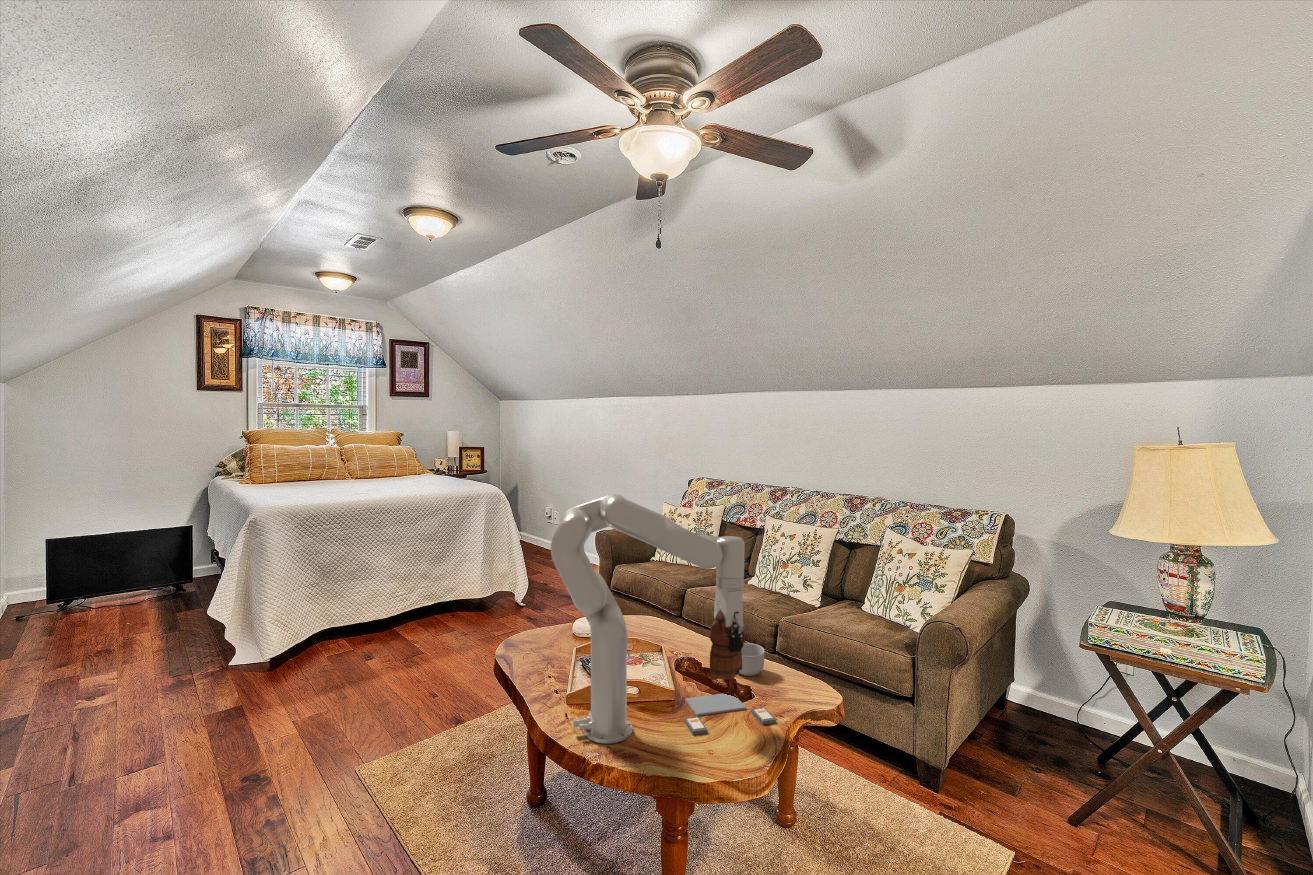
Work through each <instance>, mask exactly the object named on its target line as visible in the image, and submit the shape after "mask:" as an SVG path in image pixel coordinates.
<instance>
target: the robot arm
mask: <svg viewBox="0 0 1313 875" xmlns="http://www.w3.org/2000/svg"><path fill="white" fill-rule="evenodd" d="M606 528H611V529H613V530H616V531H618V532H620V533H622V534H625V535H628V536H629V537H632V538H635V539H637V540H639V541H641V542H644V543H646V544H648V545H651V546H653V547H654V548H656V549H659V550H661V551H664V552H666V553H668V554H670V555H673V556H674V557H677V558H678V559H680V560H682V561H684V562H688V563H690V564H692V565H694V566H696V567H699V568H702V569H705V570H710V569H715V568H716V569H715V570H716V574H715V593H714V602H713V603H714V605H713V618H714V619H715V617H716V614H717V613H718V611H719V610H721V611H722V612H723V614H724V617H725V621H724V623H723V626H724V627H725V628H728V627H730V634H731V636H730V638H729V651H730V652H740V651H741V637H742V633H744V629H745V628H744V627H745V625H744V607H743V606H744V602H743V600H744V598H743V589H745V588H744V586H745V585H744V584H745V581H744V579H745V551H746V550H745V547H746V546H745V541H744V539H743V538H742V537H739V536H734V535H724V536H715V535H707V534H698V533H695V532H693V531H691V530H689V529H686V528H685V527H683V526H680V524H677V523H676V522H675V521H673V520H671V519H670V518H668V516H665V515H663V514H661V513H659V512H656V511H653V510H651V509H649V508H647V507H644V506H643V505H640V504H637V503H635V502H634V501H631V500H628V499H627V498H626V497H624V496H623V495H621V494H617V493H615V494H614V493H613V494H608V495H604V496H603V497H600V498H597V499H594V500H591V501H588V502H585V503H583V504H582V503H581V504H578V505H576V506H573V507H570V508H569V509H567V510H566V511H565V512H564V513H563V514H562V515H561V517H560V520H559V524H558V525H557V527H556V529H555V530H554V533H553V536H552V539H551V543H550V555H551V560H552V562H553V564H554V566H555V568H556V570H557V572H558V575H559V576H560V578H561V580H562V582H563V584H564V587H565V588H566V590H567V592H568V594H569V596H570V597H571V599H572V602H573V604H574V606H575V607H576V608H577V610H578V611H579V612H582V614H583V616H584V617H585V620H586V621H587V623H588V625H589V632H590V711H589V712H587V713H588V714H587V716H584V718H574V719H572V727H573V728H578V730H579V731H584V734H585V736H586V738H587V739H588V740H590V741H591V742H595V743H597V744H617V743H619V742H622V741H623V742H624V741H625V740H626V739H628V738H629V737H631V735H632V733H633V725H632V723H631V722H630V721H629V720H628V719H627V718H628V716H627V714H628V712H627V710H628V709H627V706H628V704H627V703H628V701H627V699H628V697H627V696H628V693H627V692H628V690H627V689H628V688H627V687H628V686H627V685H628V684H627V683H628V674H627V669H628V668H627V665H628V663H627V662H628V660H627V659H628V657H627V656H628V654H627V653H628V642H629V640H628V639H629V635H628V633H629V632H628V628H627V623H626V619H625V617H624V614H623V612H622V610H621V608H620V605H618V603H617V601H616V599H615V597H614V596H613V593H612V592H611V590H610V588H609V586H608V585H607V582H606V580H605V579H604V577H603V576H602V575H601V573H599V572H597V571H596V570H595V569H594V567H593V566H592V563H591V561H590V559H589V557H588V556H587V553H586V552H585V543H586V542H587V541H588V539H589V538H590V536H591V534H592V533H594V532H597V531H601V530H603V529H606ZM733 621H734V623H737V625H732V623H733ZM733 628H737V629H735V631H733Z"/></svg>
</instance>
